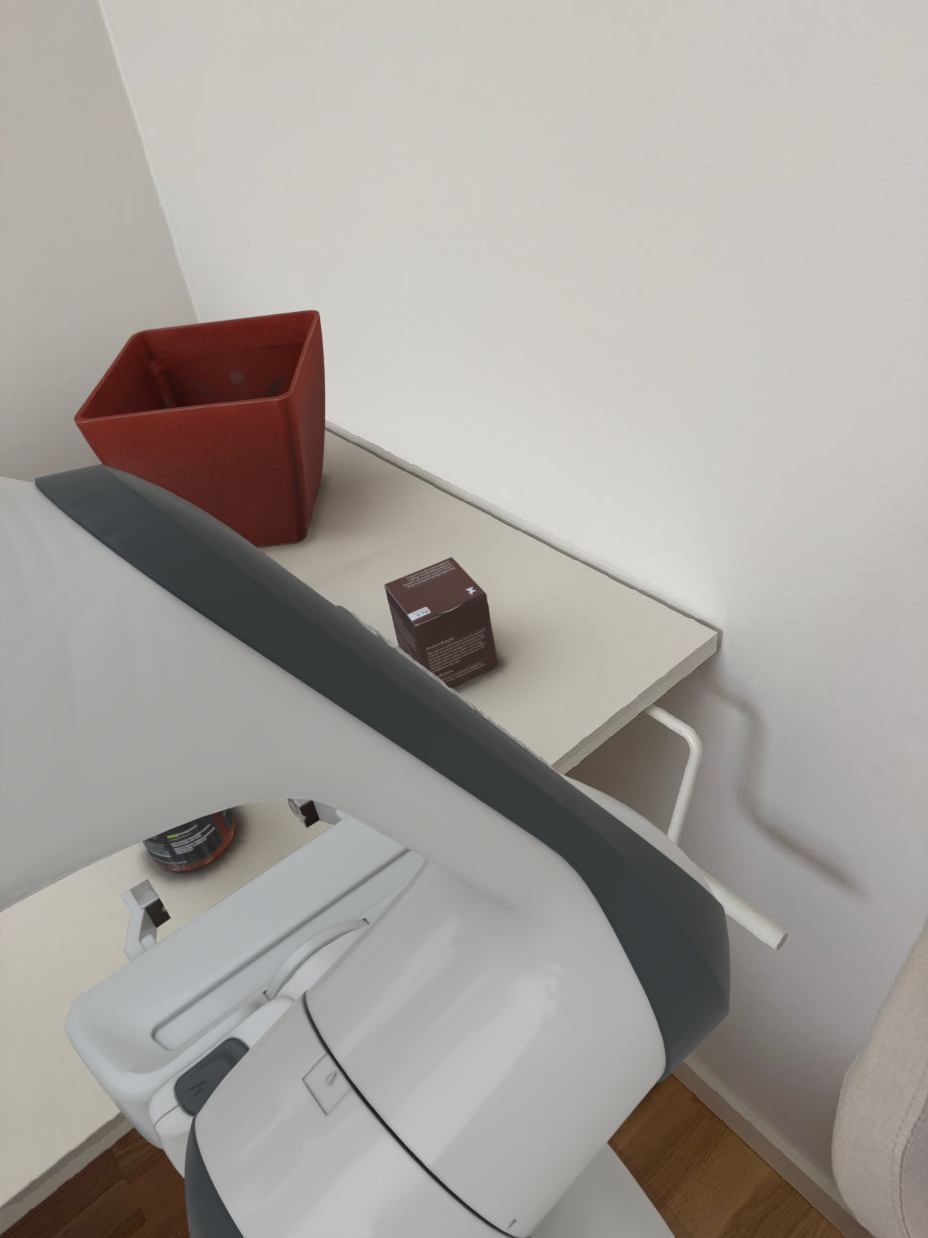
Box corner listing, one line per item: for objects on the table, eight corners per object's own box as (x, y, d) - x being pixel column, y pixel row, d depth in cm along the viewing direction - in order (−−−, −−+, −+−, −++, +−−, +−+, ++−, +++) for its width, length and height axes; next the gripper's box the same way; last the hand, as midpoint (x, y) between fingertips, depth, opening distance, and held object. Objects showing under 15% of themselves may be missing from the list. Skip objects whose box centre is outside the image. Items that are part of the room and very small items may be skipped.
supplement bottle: (208, 791, 68) (154, 675, 61) (255, 834, 64) (203, 715, 57) (135, 844, 65) (69, 728, 58) (179, 892, 62) (115, 774, 55)
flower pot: (334, 560, 89) (289, 394, 78) (137, 580, 91) (68, 420, 80) (356, 458, 104) (320, 306, 93) (187, 477, 106) (133, 330, 95)
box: (466, 627, 79) (453, 554, 74) (500, 667, 74) (489, 593, 70) (399, 655, 77) (381, 583, 72) (429, 698, 72) (413, 624, 68)
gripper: (540, 845, 43) (372, 697, 52) (120, 1166, 35) (7, 922, 44) (550, 925, 47) (392, 774, 56) (176, 1231, 39) (61, 994, 48)
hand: (221, 841), depth 50 cm, fingers open, 8 cm apart
